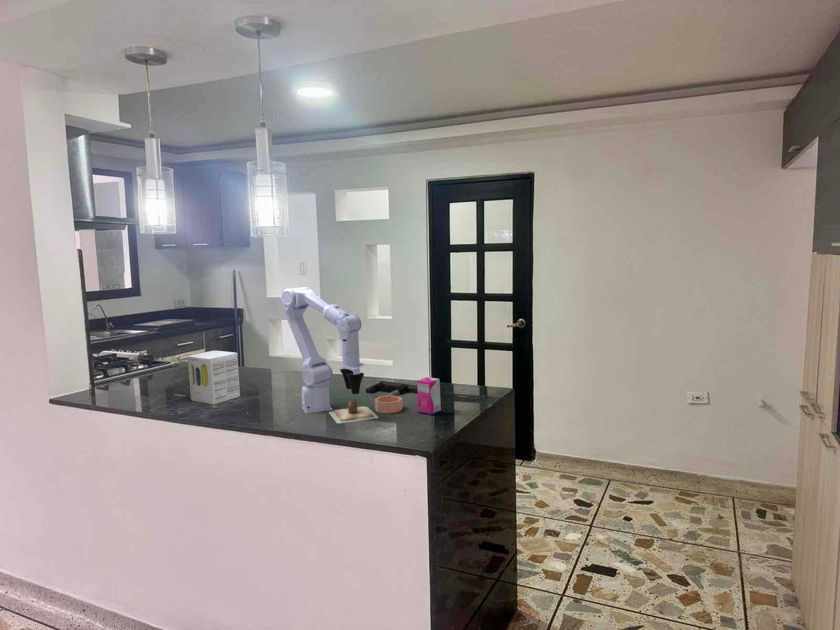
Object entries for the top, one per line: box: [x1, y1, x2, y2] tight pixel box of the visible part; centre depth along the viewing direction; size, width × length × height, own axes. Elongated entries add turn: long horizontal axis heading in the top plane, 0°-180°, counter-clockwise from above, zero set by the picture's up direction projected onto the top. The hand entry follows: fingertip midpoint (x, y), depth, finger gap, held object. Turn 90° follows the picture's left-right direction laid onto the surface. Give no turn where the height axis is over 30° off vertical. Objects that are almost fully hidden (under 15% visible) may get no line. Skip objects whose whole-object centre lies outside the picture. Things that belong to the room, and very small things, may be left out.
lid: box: [333, 399, 373, 422], centre depth 188 cm, size 11×11×5 cm
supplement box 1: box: [187, 350, 241, 405], centre depth 214 cm, size 13×13×18 cm
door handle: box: [365, 380, 417, 396], centre depth 217 cm, size 3×20×16 cm
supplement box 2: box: [416, 376, 442, 416], centre depth 190 cm, size 6×6×12 cm
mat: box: [328, 406, 379, 424], centre depth 188 cm, size 14×14×1 cm
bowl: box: [374, 395, 404, 414], centre depth 194 cm, size 9×9×4 cm
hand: (352, 391), depth 188 cm, fingers open, 7 cm apart
